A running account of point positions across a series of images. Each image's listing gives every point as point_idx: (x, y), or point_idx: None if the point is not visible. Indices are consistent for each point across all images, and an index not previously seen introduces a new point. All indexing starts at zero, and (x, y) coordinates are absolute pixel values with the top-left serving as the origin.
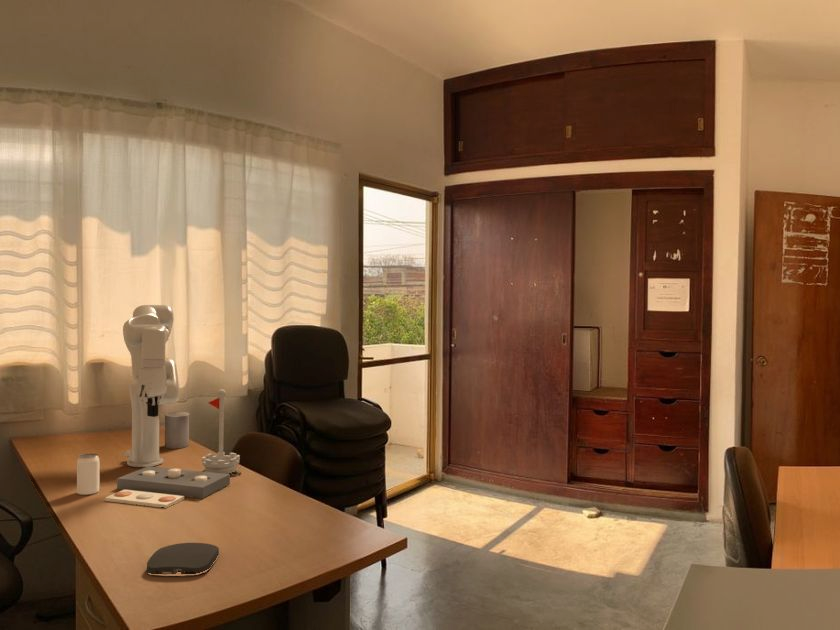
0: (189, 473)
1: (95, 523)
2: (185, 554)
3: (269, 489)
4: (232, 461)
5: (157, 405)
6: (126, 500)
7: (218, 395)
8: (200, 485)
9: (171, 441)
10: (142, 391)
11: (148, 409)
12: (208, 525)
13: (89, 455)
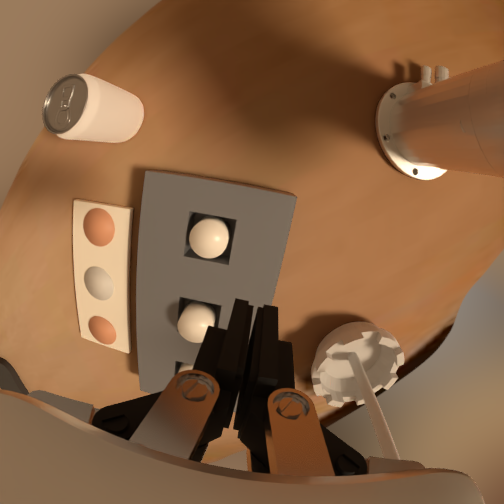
0: None
1: (10, 254)
2: (4, 384)
3: (226, 442)
4: (328, 401)
5: (238, 434)
6: (73, 256)
7: None
8: (149, 384)
9: None
10: (34, 497)
11: (200, 353)
12: (66, 392)
13: (76, 96)
